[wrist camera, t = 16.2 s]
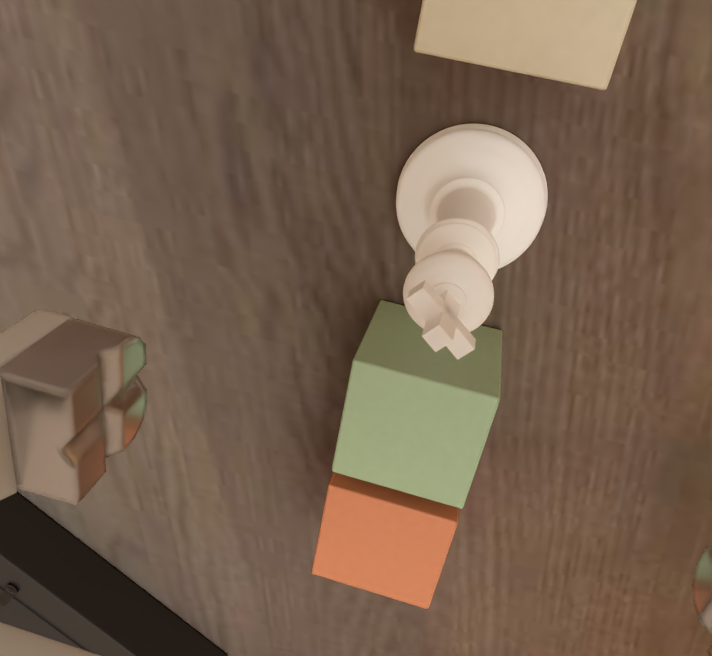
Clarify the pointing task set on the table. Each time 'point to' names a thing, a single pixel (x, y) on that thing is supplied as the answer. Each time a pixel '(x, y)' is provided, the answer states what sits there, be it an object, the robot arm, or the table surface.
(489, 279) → the chess piece
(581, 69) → the block
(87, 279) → the table surface
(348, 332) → the table surface
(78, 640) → the picture frame
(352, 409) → the block
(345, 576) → the block
